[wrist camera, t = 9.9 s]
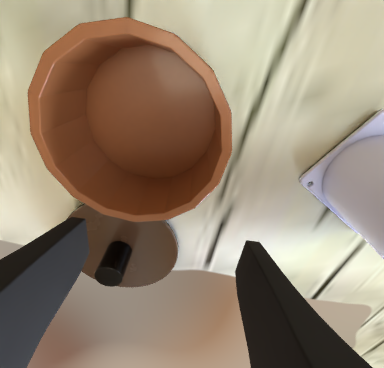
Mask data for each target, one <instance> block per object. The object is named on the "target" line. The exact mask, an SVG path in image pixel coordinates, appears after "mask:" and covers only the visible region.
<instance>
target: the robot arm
mask: <svg viewBox="0 0 384 368" xmlns="http://www.w3.org/2000/svg"><path fill="white" fill-rule="evenodd" d="M299 181H300V183H301V184H302V185H303V186H304V187H305V188H306V189H308V190H309V191H310V192H311V193H312V194H313V195H314V196H315V197H317V198H318V199H319V200H320V201H321V202H322V203H323V204H324V205H326V206H327V207H328V208H329V209H330V210H331V211H332V212H333V213H335V214H336V215H337V216H338V217H339V218H340V219H341V220H342V221H344V222H345V223H346V224H347V225H348V226H349V227H350V228H351V229H353V230H354V231H355V232H356V233H359V234H360V235H361V236H362V237H363V238H364V239H365V240H366V241H367V242H368V243H369V244H370V245H371V246H372V247H373V248H374V250H375V251H376V252H377V253H378V254H379V255H380V256H381V257H382V258H383V259H384V110H380V111H379V112H377V113H376V114H375V115H374V116H373V117H371V118H370V119H369V120H368V121H367V122H365V123H364V124H363V125H362V126H361V127H359V128H358V129H357V130H356V131H355V132H353V133H352V134H351V135H350V136H349V137H347V138H346V139H345V140H344V141H343V142H341V143H340V144H339V145H338V146H337V147H335V148H334V149H333V150H332V151H331V152H329V153H328V154H327V155H326V156H325V157H323V158H322V159H321V160H320V161H319V162H318V163H316V164H315V165H314V166H313V167H312V168H310V169H309V170H308V171H307V172H306V173H304V174H303V175H302V176H301V177H300V179H299ZM308 182H311V183H310V184H308ZM307 184H308V185H307ZM88 255H89V244H88V235H87V226H86V219H84V218H77V217H71V218H69V219H67V220H65V221H64V222H62V223H61V224H59V225H57V226H56V227H54V228H53V229H51V230H49V231H48V232H46V233H45V234H43V235H41V236H40V237H38V238H36V239H35V240H33V241H32V242H30V243H28V244H27V245H25V246H23V247H22V248H20V249H18V250H17V251H15V252H13V253H11V254H9V255H8V256H6V257H4V258H2V259H1V260H0V368H27V366H28V364H29V362H30V360H31V358H32V356H33V354H34V352H35V349H36V348H37V346H38V344H39V342H40V340H41V338H42V336H43V334H44V333H45V331H46V329H47V327H48V326H49V324H50V322H51V321H52V319H53V318H54V316H55V314H56V313H57V311H58V309H59V308H60V306H61V304H62V303H63V301H64V299H65V298H66V296H67V295H68V293H69V291H70V289H71V288H72V286H73V284H74V283H75V281H76V280H77V278H78V276H79V274H80V272H81V270H82V268H83V266H84V264H85V262H86V259H87V257H88ZM235 273H236V287H237V296H238V300H239V306H240V311H241V316H242V321H243V326H244V331H245V336H246V341H247V346H248V351H249V358H250V364H251V368H372V367H371V366H370V365H369V364H368V363H367V362H366V361H365V360H364V359H363V358H362V357H361V356H359V355H358V354H357V353H356V352H355V351H354V350H353V349H352V348H351V347H350V346H349V345H348V344H347V343H345V341H344V340H343V339H341V337H339V336H338V335H337V333H336V332H335V331H334V330H333V329H332V328H331V327H330V326H329V325H328V324H327V323H326V322H325V321H324V320H323V319H322V318H321V317H320V316H319V315H318V314H317V313H316V311H315V310H314V309H313V308H312V307H311V306H310V305H309V304H308V303H307V301H306V300H305V299H304V298H303V297H302V296H301V294H300V293H299V292H298V291H297V290H296V288H295V287H294V286H293V285H292V284H291V282H290V281H289V280H288V279H287V277H286V276H285V275H284V274H283V272H282V271H281V270H280V268H279V267H278V266H277V264H276V263H275V262H274V261H273V259H272V258H271V257H270V255H269V254H268V253H267V251H266V250H265V249H264V247H263V246H262V245H261V243H260V242H255V241H247V240H246V243H245V245H244V248H243V251H242V254H241V257H240V259H239V262H238V265H237V268H236V271H235Z"/></svg>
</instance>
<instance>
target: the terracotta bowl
mask: <svg viewBox="0 0 384 368" xmlns="http://www.w3.org/2000/svg"><path fill="white" fill-rule="evenodd" d="M28 104H29V119H30V132H31V135H32V137H33V140H34V142H35V144H36V146H37V148H38V150H39V153H40V155H41V157H42V159H43V161H44V163H45V166H46V168H48V170H49V171H50V172H51V174H52V175H53V176H54V177H55V178H56V179H57V180H58V181H59V182H60V183H61V184H62V185H63V186H64V188H65V189H66V190H67V191H68V192H69V193H70V194H71V195H72V196H73V197H75V198H76V199H78V200H80V201H81V202H83V203H85V204H86V205H88V206H90V207H92V208H93V209H95V210H97V211H98V212H100V213H102V214H104V215H108V216H112V217H116V218H120V219H124V220H128V221H132V222H144V221H159V220H168V219H171V218H173V217H175V216H178V215H180V214H182V213H184V212H187V211H189V210H191V209H194V208H195V207H197V206H198V205H199V204H200V203H201V202H202V201H203V200H204V199H205V198H206V197H207V196H208V195H209V194H210V193H211V192H212V191H213V190H214V189H215V188H216V187H217V186H218V184H219V183H220V180H221V178H222V175H223V173H224V170H225V168H226V166H227V163H228V161H229V158H230V156H231V153H232V121H231V110H230V108H229V105H228V103H227V101H226V98H225V96H224V94H223V92H222V89H221V87H220V85H219V83H218V80H217V78H216V76H215V73H214V71H213V70H212V68H211V67H210V66H209V65H208V64H207V63H205V62H204V61H203V60H202V59H201V58H200V57H199V56H198V55H197V54H196V53H195V52H194V51H193V50H192V49H191V48H190V47H189V46H188V45H187V44H186V43H184V42H183V41H182V40H181V39H180V38H179V37H178V36H177V35H175V34H174V33H171V32H168V31H165V30H162V29H160V28H157V27H154V26H151V25H148V24H145V23H143V22H140V21H137V20H134V19H131V18H128V17H123V18H116V19H109V20H102V21H95V22H88V23H81V24H79V25H77V26H75V27H74V28H73V29H72V30H70V31H69V32H68V33H67V34H65V35H64V36H63V37H62V38H60V39H59V40H58V41H57V42H55V43H54V44H53V45H51V46H50V47H49V48H48V49H46V50H45V51H44V53H43V54H42V57H41V59H40V62H39V64H38V67H37V69H36V72H35V74H34V77H33V79H32V82H31V84H30V87H29V89H28Z"/></svg>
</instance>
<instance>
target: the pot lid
mask: <svg viewBox="0 0 384 368" xmlns="http://www.w3.org/2000/svg"><path fill="white" fill-rule="evenodd" d="M71 217H77V218H84V219H86V226H87V235H88V244H89V255H88V257H87V259H86V262H85V264H84V266H83V268H82V270H81V271H82V272H83V273H85V274H86V275H88V276H90V277H92V278H93V279H96V280H97V281H98V282H99V283H100V284H103V285H105V286H120V287H140V286H146V285H150V284H153V283H155V282H157V281H159V280H161V279H163V278H164V277H165V276H167V275H168V274H169V273H170V272H171V270H172V269H173V267H174V265H175V263H176V260H177V256H178V243H177V240H176V237H175V234H174V232H173V231H172V229H171V228H170V226H169V225H168V224H167V223H166V221H165V220H159V221H144V222H132V221H128V220H124V219H120V218H116V217H112V216H108V215H104V214H102V213H100V212H98V211H97V210H95V209H93V208H92V207H90V206H88V205H86V204H84V205H82V206H80V207H79V208H77V209H76V210H75V211H74V212H72V213H71V215H70V216H69V217H68V218H67V219H69V218H71Z"/></svg>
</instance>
